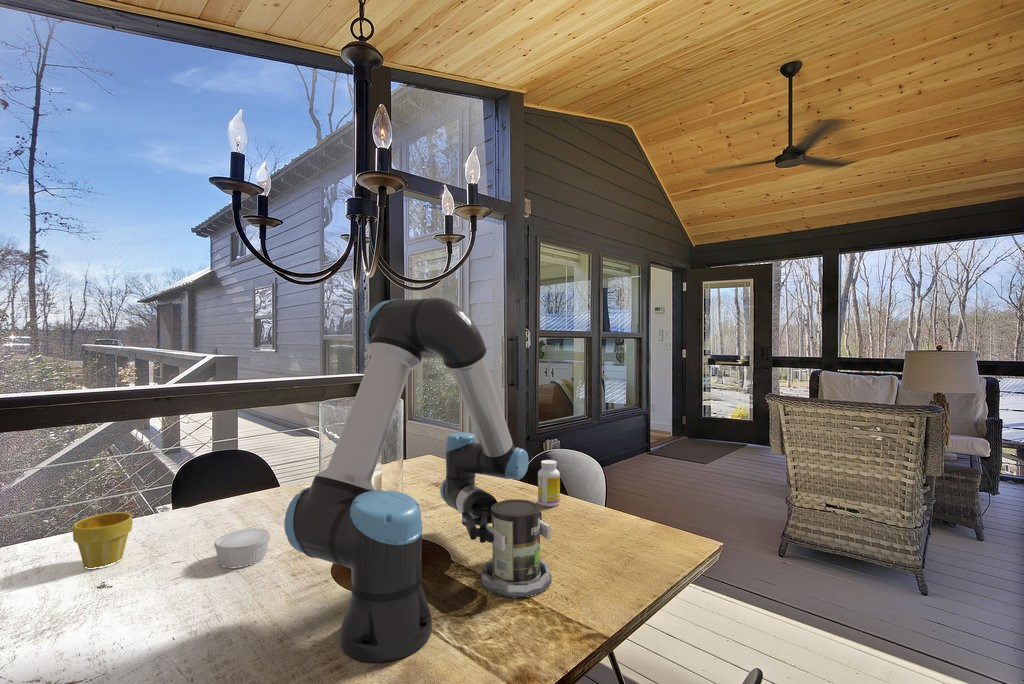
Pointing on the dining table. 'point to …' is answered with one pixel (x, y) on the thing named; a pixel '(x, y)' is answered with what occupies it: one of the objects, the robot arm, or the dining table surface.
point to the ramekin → (242, 547)
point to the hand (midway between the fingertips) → (527, 538)
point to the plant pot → (102, 538)
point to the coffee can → (517, 541)
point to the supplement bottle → (548, 484)
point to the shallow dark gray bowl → (515, 588)
